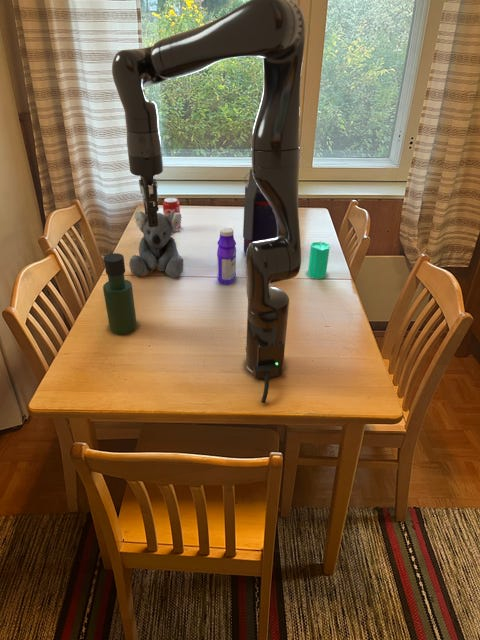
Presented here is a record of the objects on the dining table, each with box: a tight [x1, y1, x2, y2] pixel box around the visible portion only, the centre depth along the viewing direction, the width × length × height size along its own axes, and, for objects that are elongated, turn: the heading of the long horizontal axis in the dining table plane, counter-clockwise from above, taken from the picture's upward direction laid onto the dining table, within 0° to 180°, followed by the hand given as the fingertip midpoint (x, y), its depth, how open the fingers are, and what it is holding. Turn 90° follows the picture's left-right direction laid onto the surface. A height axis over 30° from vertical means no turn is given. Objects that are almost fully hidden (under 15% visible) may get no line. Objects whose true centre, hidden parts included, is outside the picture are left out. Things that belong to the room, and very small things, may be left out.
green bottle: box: [102, 273, 138, 336], centre depth 124 cm, size 7×7×17 cm
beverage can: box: [162, 196, 182, 233], centre depth 181 cm, size 6×6×12 cm
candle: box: [307, 241, 331, 280], centre depth 152 cm, size 6×6×12 cm
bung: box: [103, 252, 126, 276], centre depth 118 cm, size 5×5×6 cm
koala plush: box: [128, 210, 184, 279], centre depth 153 cm, size 17×18×20 cm
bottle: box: [216, 226, 237, 285], centre depth 146 cm, size 7×6×17 cm
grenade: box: [242, 168, 277, 255], centre depth 159 cm, size 14×12×30 cm
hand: (151, 219), depth 115 cm, fingers open, 8 cm apart
